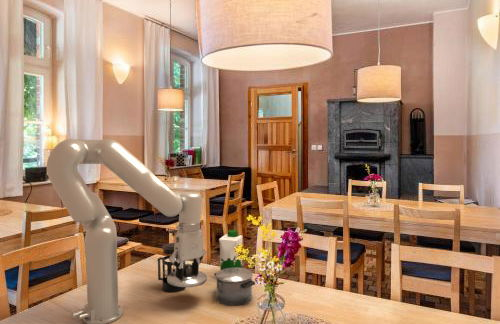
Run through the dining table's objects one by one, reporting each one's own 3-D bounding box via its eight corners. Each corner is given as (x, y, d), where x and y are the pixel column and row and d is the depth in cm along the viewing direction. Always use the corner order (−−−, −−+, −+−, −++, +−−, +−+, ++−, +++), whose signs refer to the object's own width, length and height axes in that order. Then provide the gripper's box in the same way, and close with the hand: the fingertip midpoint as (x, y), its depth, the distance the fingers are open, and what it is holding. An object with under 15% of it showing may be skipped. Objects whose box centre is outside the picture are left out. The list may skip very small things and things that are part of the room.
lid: (181, 290, 119) (182, 275, 119) (159, 278, 129) (160, 263, 129) (214, 281, 129) (215, 267, 129) (191, 270, 139) (192, 256, 139)
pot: (236, 311, 122) (236, 286, 121) (205, 296, 134) (205, 273, 133) (263, 299, 132) (263, 275, 131) (232, 285, 144) (232, 263, 143)
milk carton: (244, 276, 153) (244, 230, 152) (237, 284, 145) (236, 236, 143) (225, 274, 156) (225, 228, 155) (217, 281, 148) (216, 234, 146)
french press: (191, 283, 146) (190, 228, 144) (182, 293, 136) (181, 234, 135) (164, 281, 148) (163, 227, 146) (153, 291, 138) (152, 233, 137)
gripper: (174, 232, 119) (172, 285, 120) (214, 226, 132) (212, 274, 132) (162, 227, 125) (160, 278, 125) (202, 222, 137) (200, 268, 138)
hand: (187, 275), depth 129 cm, fingers closed on lid, 6 cm apart
